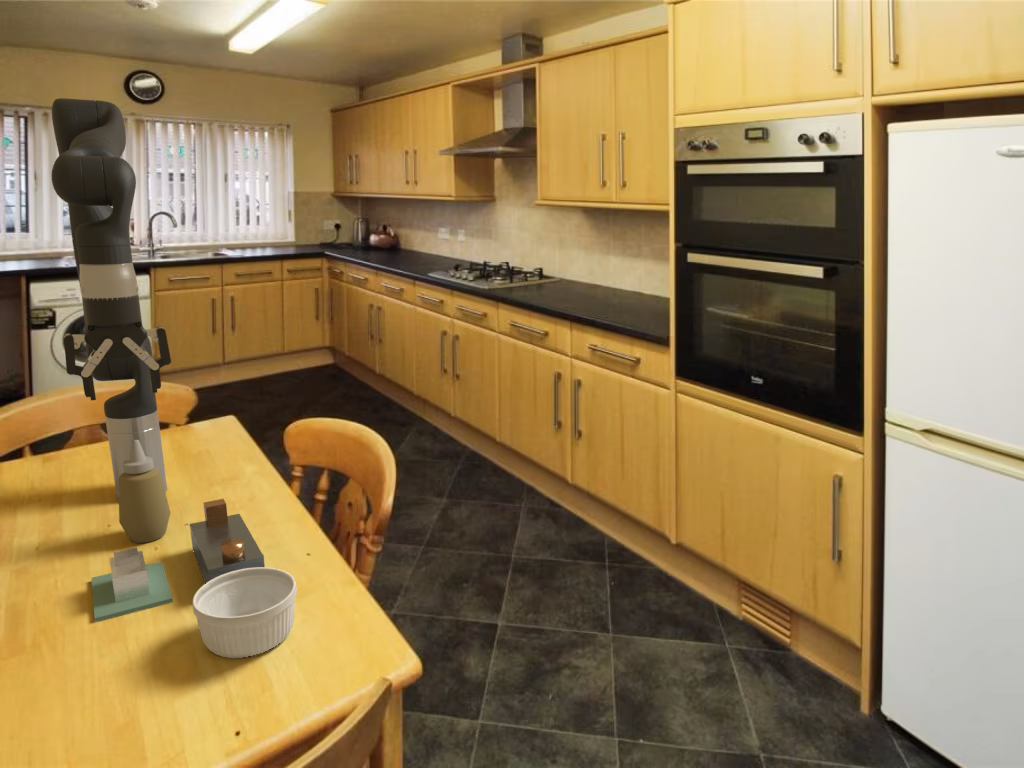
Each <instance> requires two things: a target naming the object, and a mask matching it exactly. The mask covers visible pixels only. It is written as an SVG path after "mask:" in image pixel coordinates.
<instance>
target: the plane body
mask: <svg viewBox="0 0 1024 768" xmlns="http://www.w3.org/2000/svg"><path fill="white" fill-rule="evenodd" d="M203 510H204V512H203V513H204V520H202V521H197V522H192V523H189V529H190V538H191V546H192V552H193V551H194V552H193V555H194V554H195V555H194V558H195V557H196V558H195V560H196V563H197V562H198V563H197V566H198V565H199V566H198V568H199V567H200V568H199V571H200V570H201V571H200V573H202V574H201V576H202V575H203V576H202V579H203V578H204V579H203V581H205V582H204V584H205V583H207V582H209V581H210V580H212V579H214V578H216V577H218V576H221V575H223V574H226V573H229V572H232V571H236V570H240V569H246V568H256V567H266V565H265V556H264V554H263V552H262V551H261V549H260V547H259V545H258V544H257V542H256V539H254V537H253V535H252V533H251V531H250V530H249V528H248V527H247V525H246V522H244V519H243V517H242V516H241V513H236V514H231V515H228V510H227V502H226V500H225V499H224V498H220V499H215V500H210V501H204V502H203Z"/></svg>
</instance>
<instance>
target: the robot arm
mask: <svg viewBox="0 0 1024 768" xmlns="http://www.w3.org/2000/svg"><path fill="white" fill-rule="evenodd" d="M51 106H52V107H51V120H52V127H53V131H54V133H53V134H54V138H55V141H56V147H57V152H58V157H57V158H56V159H55V161H54V163H53V165H52V169H51V183H52V187H53V189H54V191H55V193H56V195H57V196H58V197H59V198H60V199H61V200H62V201H63V202H65V203H67V206H68V214H69V224H70V231H71V232H70V233H71V239H72V240H71V242H72V248H73V254H74V260H75V266H76V272H77V276H78V277H77V278H78V282H79V287H80V288H79V289H80V294H81V299H82V310H83V321H84V323H83V324H84V334H80V333H79V334H78V333H77V334H72V333H69V332H68V333H67V332H66V333H65V334H64V336H63V343H64V345H63V346H64V355H65V368H66V373H67V374H68V375H70V376H71V375H73V376H74V375H75V376H78V377H80V378H81V379H82V380H81V381H82V386H83V392H84V395H85V397H86V398H89V399H90V401H96V400H97V397H96V390H95V383H94V380H95V381H98V382H99V381H100V382H111V381H112V382H113V381H114V382H115V381H126V380H127V381H128V380H134V382H135V383H134V385H133V386H132V387H131V388H129V389H127V390H126V391H124V392H121V393H118V394H116V395H113V396H111V397H109V398H108V399H106V400H105V401H104V403H103V412H104V417H105V418H104V419H105V424H106V425H105V426H106V431H107V438H108V444H109V451H110V459H111V465H112V472H113V480H114V482H113V483H114V488H115V493H116V498H117V499H118V500H119V482H118V478H119V477H120V475H121V474H122V473H124V470H123V462H124V461H125V460H127V459H129V456H130V448H131V441H132V440H139V442H140V444H141V447H142V449H143V452H144V454H145V456H148V457H151V458H152V459H153V465H154V467H153V468H156V469H158V470H159V471H160V473H161V477H162V481H163V485H164V489H165V492H166V491H167V490H168V487H167V486H168V484H167V477H166V469H165V461H164V453H163V452H164V451H163V445H162V437H161V436H162V435H161V429H160V421H159V414H158V413H159V412H158V404H157V395H156V394H157V393H158V390H159V389H161V388H162V382H161V381H162V380H161V372H160V370H161V368H163V367H165V366H168V365H170V364H171V363H172V358H171V354H170V348H169V343H168V338H167V333H166V331H167V330H165V328H164V326H156V327H155V328H150V329H149V328H147V329H145V327H144V325H143V320H142V313H141V304H140V297H139V284H138V279H137V275H136V271H135V268H134V264H133V263H134V262H133V254H132V246H131V237H130V226H131V225H130V222H131V214H132V207H133V202H134V198H135V193H136V186H137V177H136V174H135V172H134V169H133V167H132V166H131V164H130V163H129V162H128V161H127V160H125V159H124V158H122V155H123V153H124V151H125V150H126V146H127V145H126V144H127V135H126V134H127V133H126V125H125V120H124V119H125V118H124V116H123V114H122V112H121V110H120V108H119V107H118V106H117V105H116V104H115V103H112V102H109V101H105V100H94V99H93V100H91V99H79V98H66V97H65V98H62V97H61V98H56V99H55V100H53V102H52V105H51ZM150 338H151V340H152V341H153V342H154V343H157V346H158V351H159V355H160V357H158V358H154V357H153V349H152V348H153V347H152V343H151V340H150ZM84 342H85V350H86V356H87V357H86V358H87V360H86V361H85V362H84V364H83V365H81V366H80V365H77V364H76V354H75V353H76V351H75V350H78V349H79V348H80V347H81V344H82V343H84Z"/></svg>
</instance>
